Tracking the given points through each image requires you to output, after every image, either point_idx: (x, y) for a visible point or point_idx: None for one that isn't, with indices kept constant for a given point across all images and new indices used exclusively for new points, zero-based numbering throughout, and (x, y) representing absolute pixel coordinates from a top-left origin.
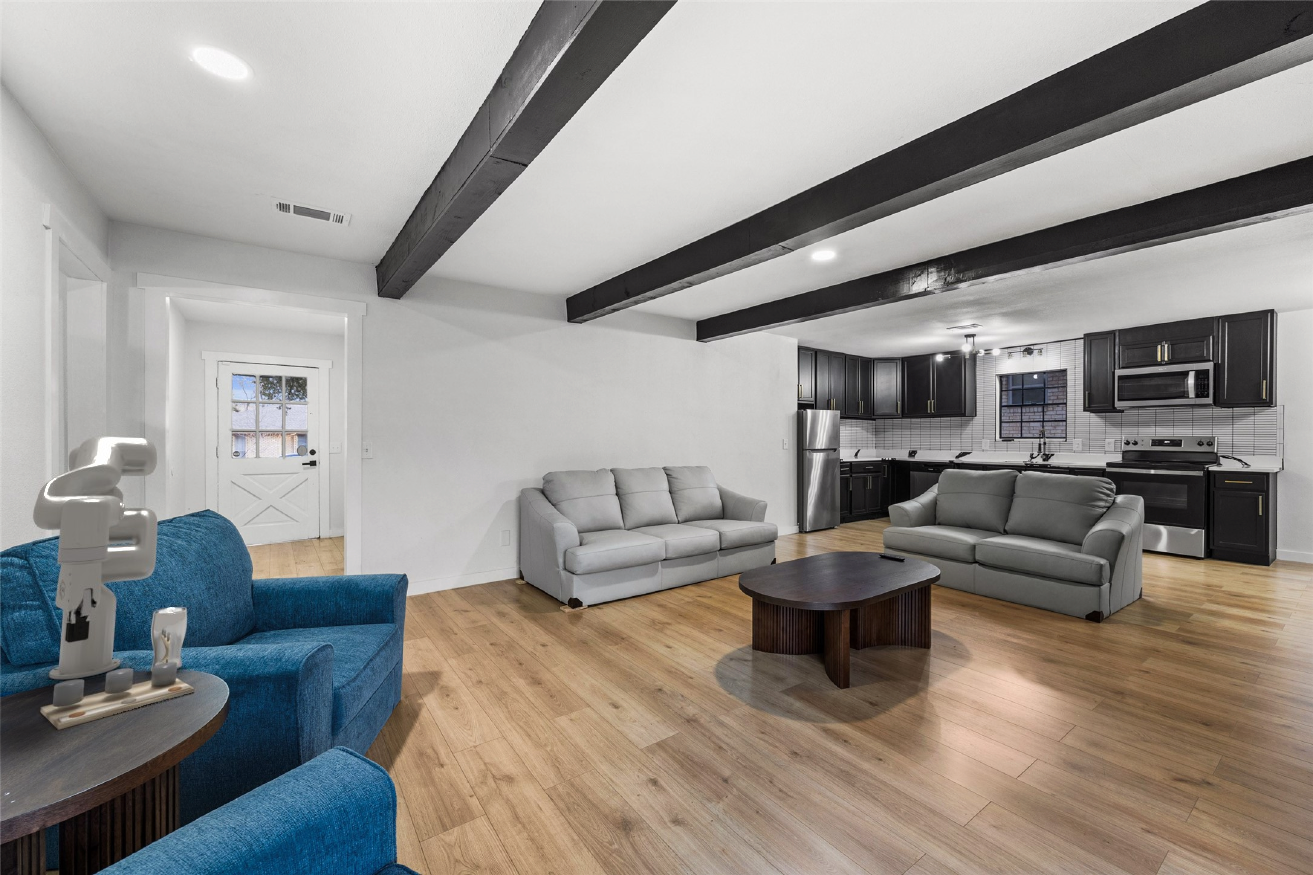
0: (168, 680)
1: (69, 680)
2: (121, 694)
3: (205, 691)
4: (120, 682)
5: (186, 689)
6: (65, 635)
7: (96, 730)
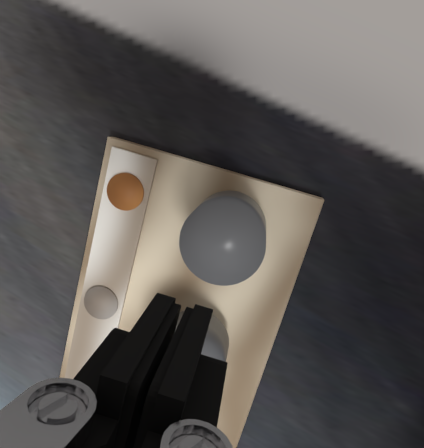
0: None
1: (260, 264)
2: None
3: None
4: None
5: None
6: (204, 326)
7: (17, 169)
